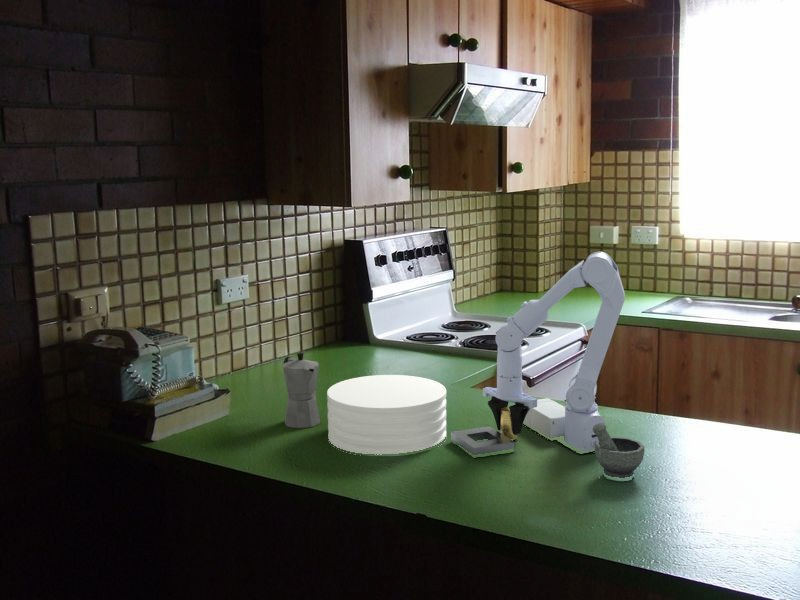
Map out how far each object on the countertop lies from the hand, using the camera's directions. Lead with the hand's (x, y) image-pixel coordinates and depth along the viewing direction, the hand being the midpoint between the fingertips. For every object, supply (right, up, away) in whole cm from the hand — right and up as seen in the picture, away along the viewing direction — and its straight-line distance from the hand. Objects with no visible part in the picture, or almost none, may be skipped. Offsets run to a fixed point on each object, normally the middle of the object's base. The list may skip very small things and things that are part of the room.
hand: (509, 431), depth 202 cm
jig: (-7, -3, -4) cm, 9 cm away
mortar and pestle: (+19, -6, -23) cm, 30 cm away
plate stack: (-28, -2, +4) cm, 29 cm away
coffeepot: (-50, 0, +16) cm, 53 cm away
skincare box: (+8, +3, +13) cm, 16 cm away
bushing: (0, -2, 0) cm, 2 cm away
